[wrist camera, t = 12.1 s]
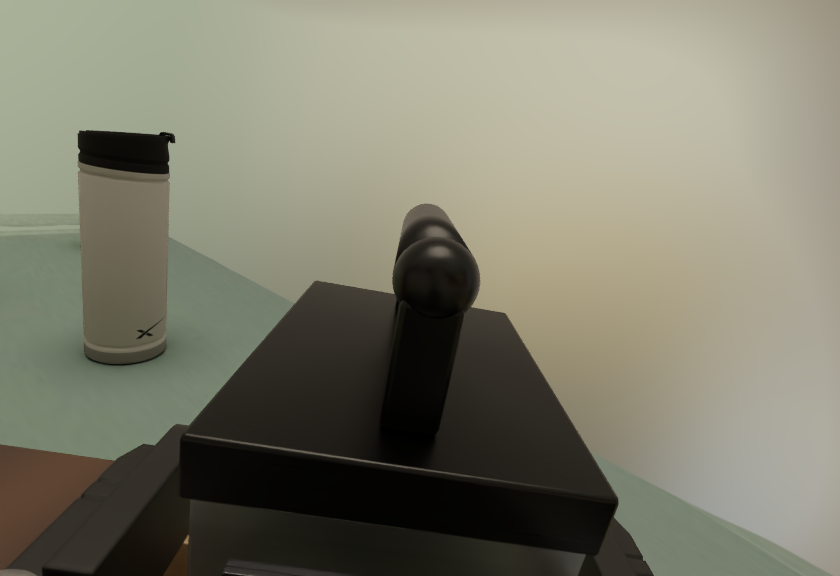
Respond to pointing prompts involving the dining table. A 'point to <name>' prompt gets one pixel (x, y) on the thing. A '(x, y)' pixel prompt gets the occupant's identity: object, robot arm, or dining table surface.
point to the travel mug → (124, 243)
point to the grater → (392, 439)
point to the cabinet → (38, 493)
